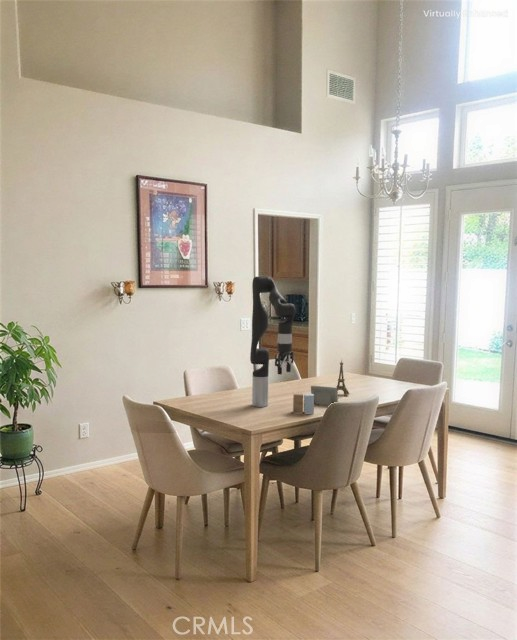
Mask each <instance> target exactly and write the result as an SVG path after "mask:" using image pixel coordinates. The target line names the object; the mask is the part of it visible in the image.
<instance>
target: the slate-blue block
mask: <svg viewBox="0 0 517 640" xmlns="http://www.w3.org/2000/svg"><path fill="white" fill-rule="evenodd" d="M314 407H315V402H314V394H311V393H304V394H303V413H304V414H309V415H314V414H315V412H314V411H315V408H314Z"/></svg>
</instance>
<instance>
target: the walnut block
mask: <svg viewBox="0 0 517 640" xmlns="http://www.w3.org/2000/svg"><path fill="white" fill-rule="evenodd" d="M292 395H293V405H292V412H293V414H303V413H304V394H303V393H293V394H292Z"/></svg>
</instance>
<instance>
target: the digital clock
mask: <svg viewBox="0 0 517 640" xmlns="http://www.w3.org/2000/svg"><path fill="white" fill-rule="evenodd" d="M310 394H314V405H317V404H319V405H318V406H328V405H330V404H331V403H334V402H338V403H339V397H338V393H337V387H332V386H324V385H323V386H321V385H310ZM331 405H332V404H331ZM331 405H330V406H331Z"/></svg>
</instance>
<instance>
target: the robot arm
mask: <svg viewBox="0 0 517 640" xmlns="http://www.w3.org/2000/svg"><path fill="white" fill-rule="evenodd" d="M251 285H252V287H251V290H252V314H251V315H252V318H251V344H250V345H251V346H250V357H249V359H250V363H251V364H252V365H262V366H261V367H259V368H257V369H254V370H253V371H252V391H251V392H252V394H251V397H252V399H251V405H252V406H253V407H256V408H257V407H258V408H265V407H268V406H269V371H270V370H269V368H270V367H269V365H270V351H269V349H268V348H258V346H259V345H258V344H259V342H260V340H261V338H262V337H263V335H264V334H265V333H266V332H267V330H268V327H269V314H268V311H267V310H266V308H265V307H264V305H263V303H262V300H261V294H265V293H266V294H267V293H269V296H268V301H269V303H270V304H271V305H272V306H273V308H274V309H273V310H274V313H275V315H276V317H278V318H286V319H285V320H284V321H280V322H279V323H278V326H277V327H278V331H277V344H276V345H277V347H276V348H277V349H276V350H277V352H278V353H279V354H277V353H276V354H275V356H274V357H275V359H274V366H275V367H277V375H282V374H283V366H284V364H286V373H291V367H292V365H293V364H294V352H293V351H292V350H293V334H292V333H293V331H292V330H293V329H292V328H293V323H294V319H295V316H296V313H297V312H296V309H297V308H296V306H295V304H293V303H287V300H286V299H285V298H284V296H282V295H281V293H280V291H279V290H278V287H277V285H276V283H275V281H274V280H273V278H272V277H271V276H266V275H264V276H254V277H253V278H252V284H251Z"/></svg>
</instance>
